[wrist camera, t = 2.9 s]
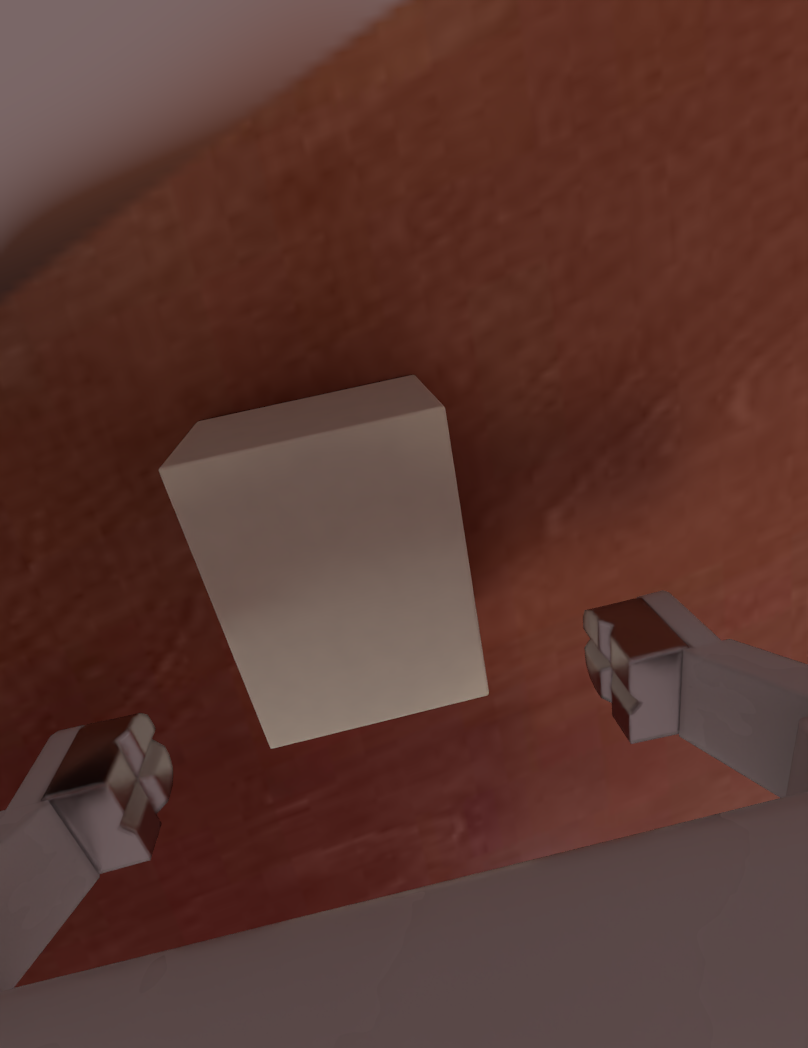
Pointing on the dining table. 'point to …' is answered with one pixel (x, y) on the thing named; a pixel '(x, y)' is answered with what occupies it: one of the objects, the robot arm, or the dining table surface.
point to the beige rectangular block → (334, 556)
